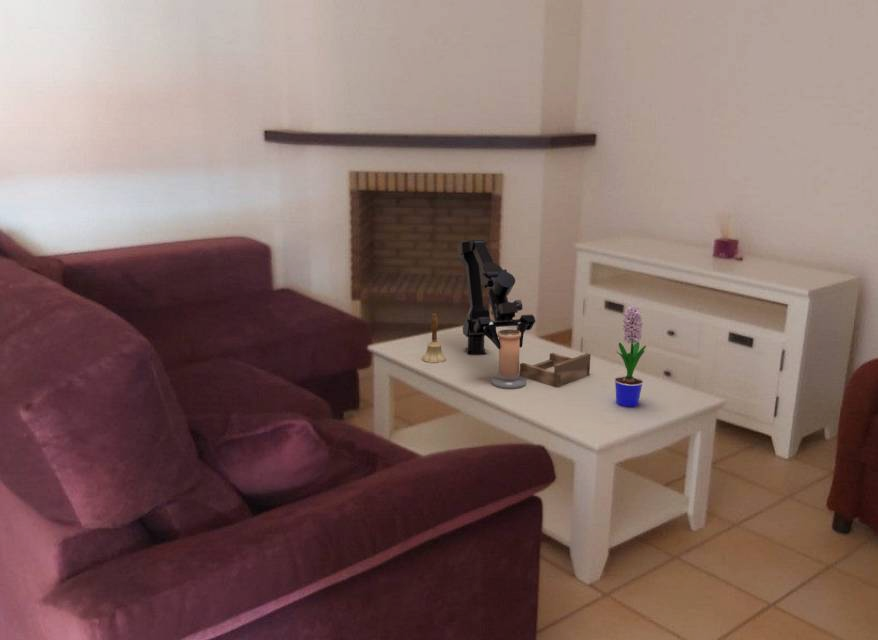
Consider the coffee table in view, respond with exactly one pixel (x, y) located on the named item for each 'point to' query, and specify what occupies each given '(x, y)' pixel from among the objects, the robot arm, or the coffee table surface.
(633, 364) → the hyacinth
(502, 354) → the pot
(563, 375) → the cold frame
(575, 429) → the coffee table surface
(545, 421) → the coffee table surface
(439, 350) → the hand bell
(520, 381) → the saucer
